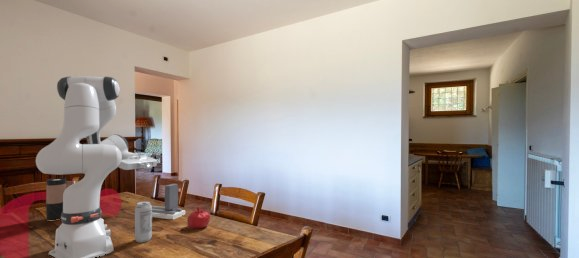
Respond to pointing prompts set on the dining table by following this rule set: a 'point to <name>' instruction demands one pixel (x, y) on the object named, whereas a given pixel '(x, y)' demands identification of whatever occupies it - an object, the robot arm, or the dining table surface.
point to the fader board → (166, 213)
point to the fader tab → (171, 197)
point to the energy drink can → (143, 222)
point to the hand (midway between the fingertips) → (149, 167)
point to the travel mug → (55, 198)
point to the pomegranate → (198, 219)
